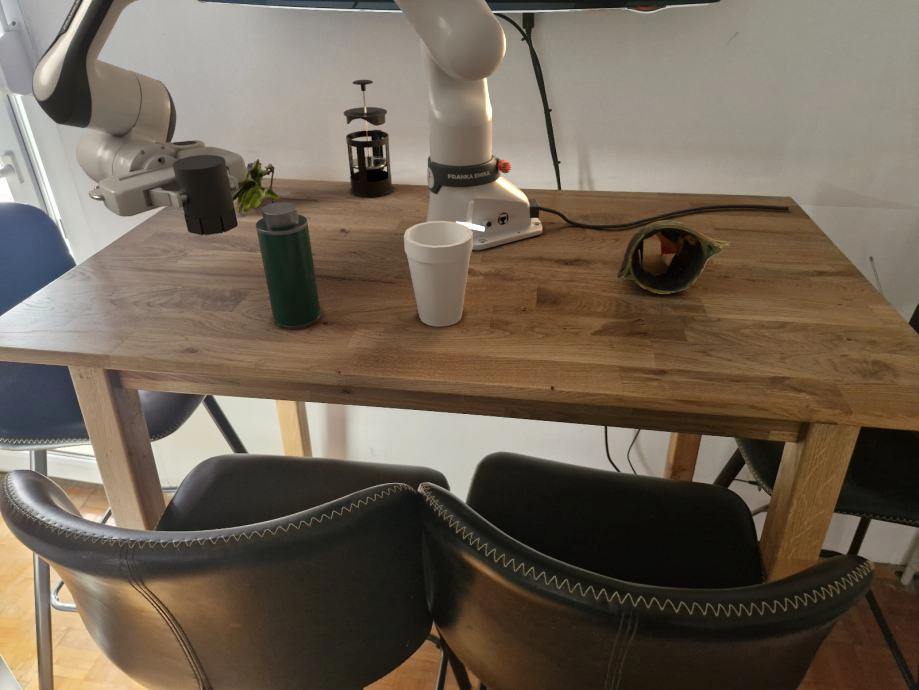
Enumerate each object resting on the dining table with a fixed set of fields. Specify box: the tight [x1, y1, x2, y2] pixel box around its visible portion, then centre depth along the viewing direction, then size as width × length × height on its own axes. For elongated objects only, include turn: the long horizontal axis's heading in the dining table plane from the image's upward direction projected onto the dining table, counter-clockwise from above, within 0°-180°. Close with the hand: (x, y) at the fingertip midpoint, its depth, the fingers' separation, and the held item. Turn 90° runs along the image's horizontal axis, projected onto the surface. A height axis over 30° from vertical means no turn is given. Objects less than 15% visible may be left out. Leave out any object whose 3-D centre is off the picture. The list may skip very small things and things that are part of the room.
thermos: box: [255, 201, 322, 331], centre depth 91 cm, size 7×7×17 cm
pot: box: [616, 219, 734, 295], centre depth 104 cm, size 17×11×18 cm
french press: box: [343, 79, 394, 199], centre depth 138 cm, size 12×9×23 cm
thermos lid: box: [173, 155, 239, 236], centre depth 88 cm, size 7×7×9 cm
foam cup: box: [403, 221, 473, 328], centre depth 92 cm, size 10×9×13 cm
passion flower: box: [231, 158, 281, 216], centre depth 134 cm, size 11×11×12 cm
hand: (209, 192), depth 88 cm, fingers closed on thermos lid, 6 cm apart
